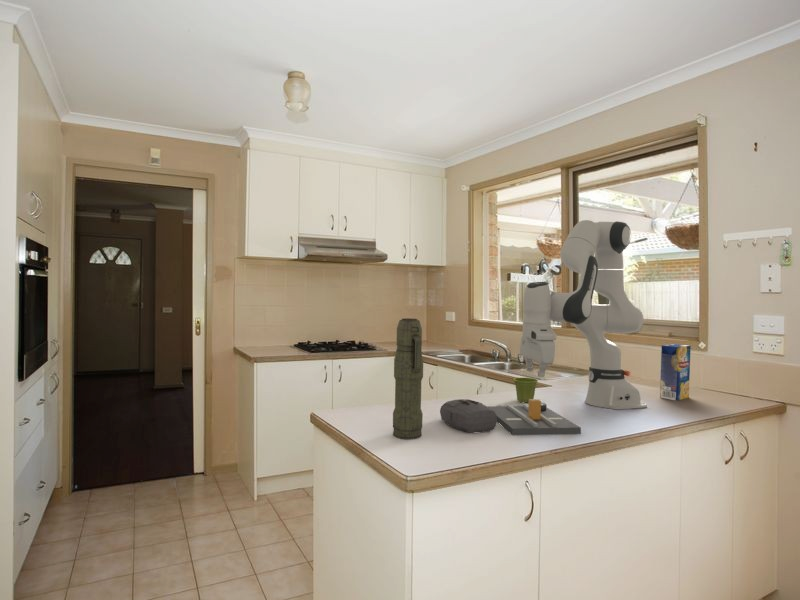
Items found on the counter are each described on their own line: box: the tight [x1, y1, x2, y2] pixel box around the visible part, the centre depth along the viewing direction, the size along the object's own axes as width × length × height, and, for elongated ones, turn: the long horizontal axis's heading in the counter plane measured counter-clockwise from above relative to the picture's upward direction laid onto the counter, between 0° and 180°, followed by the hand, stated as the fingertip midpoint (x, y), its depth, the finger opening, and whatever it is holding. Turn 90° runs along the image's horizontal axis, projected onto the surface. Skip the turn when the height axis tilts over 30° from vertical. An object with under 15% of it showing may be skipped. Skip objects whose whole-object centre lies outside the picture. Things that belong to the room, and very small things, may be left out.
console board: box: [486, 401, 582, 436], centre depth 168 cm, size 22×28×4 cm
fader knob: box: [527, 398, 542, 420], centre depth 164 cm, size 3×3×6 cm
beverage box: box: [659, 343, 692, 402], centre depth 211 cm, size 7×11×22 cm, turn 127°
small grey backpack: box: [439, 398, 498, 434], centre depth 164 cm, size 15×8×20 cm
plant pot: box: [513, 377, 539, 404], centre depth 199 cm, size 9×9×9 cm
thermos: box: [392, 317, 424, 440], centre depth 150 cm, size 9×12×35 cm
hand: (535, 373), depth 164 cm, fingers open, 8 cm apart
